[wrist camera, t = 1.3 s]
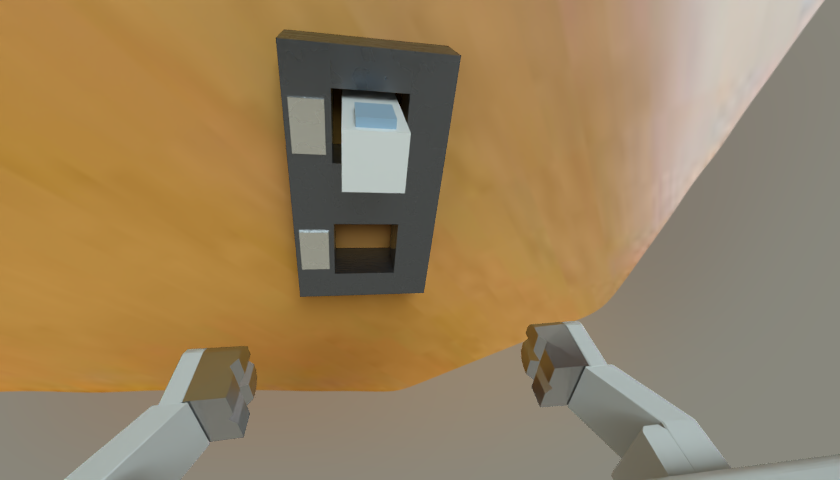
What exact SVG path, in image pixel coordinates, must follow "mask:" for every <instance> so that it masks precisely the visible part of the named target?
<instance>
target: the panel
mask: <svg viewBox="0 0 840 480" xmlns="http://www.w3.org/2000/svg"><path fill="white" fill-rule="evenodd" d="M276 44H277V55H278V65H279V76H280V87H281V97H282V108H283V118H284V129H285V139H286V150H287V160H288V171H289V182H290V192H291V203H292V213H293V224H294V234H295V245H296V256H297V266H298V277H299V287H300V297H306V296H338V295H370V294H402V293H424V288H425V281H426V275H427V269H428V262H429V256H430V250H431V243H432V237H433V230H434V224H435V218H436V211H437V205H438V199H439V192H440V186H441V180H442V173H443V167H444V161H445V154H446V148H447V142H448V135H449V129H450V122H451V116H452V110H453V103H454V97H455V91H456V84H457V78H458V72H459V65H460V59H461V55H459V54H458V53H457V52H455V51H454V50H453V49H451V48H450V47H449V46H442V45H432V44H423V43H413V42H403V41H393V40H383V39H373V38H363V37H353V36H344V35H334V34H324V33H314V32H304V31H294V30H283V31H282V32H281V33H280V34H279V35H278V36H277V37H276ZM332 88H338V89H351V90H365V91H378V92H392V93H402V102H401V110H402V113H403V115H404V118H405V120H406V122H407V125H408V127H409V130H410V132H411V136H410V146H409V157H408V167H407V177H406V187H405V193H368V192H342V144H334V143H333V94H332ZM335 224H392V226H391V238H390V248H336V242H335Z"/></svg>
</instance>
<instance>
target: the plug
mask: <svg viewBox="0 0 840 480" xmlns="http://www.w3.org/2000/svg"><path fill="white" fill-rule="evenodd" d="M341 134H342V192H368V193H405V187H406V177H407V167H408V157H409V146H410V136H411V132H410V130H409V127H408V125H407V122H406V120H405V118H404V115H403V113H402V110H401V108H400V105H399V103H398V100H397V98H396V95H395V93H392V92H378V91H365V90H351V89H342V127H341Z"/></svg>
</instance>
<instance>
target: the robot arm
mask: <svg viewBox="0 0 840 480" xmlns="http://www.w3.org/2000/svg"><path fill="white" fill-rule="evenodd" d="M526 335H527V337H528V339H527V340H526V341H525V342H523V345H522V349H521V358H522V363H523V367H524V369H525V372H526V374H527V375H528V376H530V377H531V378H532V379H533V380H534V381H533V384H532V389H533V392H534V394H535V396H536V398H537V401H538V403H539V406H540V407H550V406H564V405H568V408H569V409H570V410H571V411H573V412H574V413H575V414H576V415H577V416H578V417H579V418H580V419H581V420H582V421H583V422H584V423H585V424H586V425H587V426H588V427H589V428H590V429H592V431H594V432H595V433H596V434H597V435H598V436H599V437H600V438H601V439H602V440H603V441H604V442H605V443H606V444H607V445H608V446H609V447H610V448H611V449H612V450H613V451H614V452H615V453H617V454H618V455H619V456H620V457H621V458H622V459H621V460H620V461H619V463H618V464H617V466H616V468H615V469H614V470H613V473H612V478H613V480H840V454H837V455H831V456H822V457H814V458H807V459H799V460H791V461H784V462H777V463H768V464H760V465H753V466H745V467H737V468H731V467H730V466H729V464H728V463H727V462H726V460H725V459H724V458H723V456H722V455H721V454H720V452H719V451H718V450H717V448H716V447H715V446H714V444H713V443H712V442H711V440H710V439H709V438H708V436H707V435H706V434H705V432H704V431H703V430H702V428H701V427H700V426H699V424H698V423H697V422H696V420H695V419H694V418H692V417H691V416H689V415H688V414H686V413H685V412H683V411H682V410H680V409H679V408H677V407H675V406H674V405H673V404H671V403H670V402H668V401H667V400H665V399H664V398H662V397H661V396H659V395H658V394H656V393H655V392H653V391H652V390H650V389H648V388H647V387H646V386H644V385H643V384H640V382H638V381H637V380H635V379H634V378H632V377H630V376H629V375H628V374H626V373H624V372H623V371H622V370H620V369H618V368H617V367H615V366H614V365H608V364H607V363H606V361H605V360H604V358H603V357H602V355H601V354H600V352H599V351H598V349H597V347H596V346H595V344H594V343H593V341H592V340H591V338H590V336H589V335H588V333H587V332H586V330H585V329H584V327H583V325H582V324H581V323H580V322H579V321H570V322H554V323H542V324H531V325H529V326H528V327H527V331H526ZM249 358H250V351H249V349H248V346H239V347H219V348H202V349H187V350H186V351H185V352H184V353H183V355H182V356H181V358H180V361H179V363H178V365H177V367H176V369H175V371H174V373H173V375H172V377H171V379H170V381H169V383H168V385H167V388H166V390H165V392H164V394H163V396H162V398H161V400H160V402H159V404H158V405H153V406H151V407H150V408H149V409H148V410H146V411H145V412H144V413H143V414H141V415H140V416H139V417H138V418H137V419H135V420H134V421H133V422H132V423H131V424H130V425H128V426H127V427H126V428H125V429H124V430H122V431H121V432H120V433H119V434H118V435H116V436H115V437H114V438H113V439H112V440H111V441H110V442H108V443H107V444H106V445H104V446H103V447H102V448H101V449H100V450H99V451H97V452H96V453H95V454H94V455H93V456H91V457H90V458H89V459H88V460H87V461H85V462H84V463H83V464H82V465H81V466H79V467H78V468H77V469H76V470H75V471H74V472H72V473H71V474H70V475H69V476H68V477H67V478H65V479H64V480H181V478H182V477H183V476H184V474H185V473H186V472H187V471H188V470H189V469H190V467H191V466H192V464H194V463H195V461H196V460H197V459H198V458H199V456H200V455H201V454H202V453H203V452H204V450H205V449H206V448H207V447H208V446H209V444H210V442H212V441H219V440H227V439H235V438H243V437H244V434H245V430H246V426H247V422H248V419H249V415H250V413H249V410H248V408H247V405H248V404H249V403H250V402H251V401H252V400H253V398H254V395H255V391H256V383H257V374H256V369H255V366H254V364H253V363H251V362H249Z"/></svg>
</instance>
